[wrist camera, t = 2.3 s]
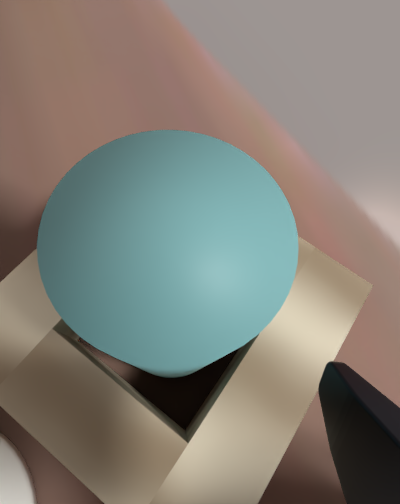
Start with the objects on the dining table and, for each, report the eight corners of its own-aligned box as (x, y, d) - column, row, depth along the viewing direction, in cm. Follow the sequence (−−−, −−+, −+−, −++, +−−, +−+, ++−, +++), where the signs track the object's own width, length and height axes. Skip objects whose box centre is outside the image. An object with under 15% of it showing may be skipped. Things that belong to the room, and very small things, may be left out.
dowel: (181, 400, 17) (199, 436, 5) (104, 336, 18) (-24, 250, 6) (238, 317, 19) (341, 213, 7) (165, 264, 20) (154, 95, 8)
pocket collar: (198, 545, 15) (207, 599, 11) (-14, 353, 17) (-66, 344, 13) (335, 304, 20) (373, 285, 16) (155, 180, 22) (151, 139, 18)
